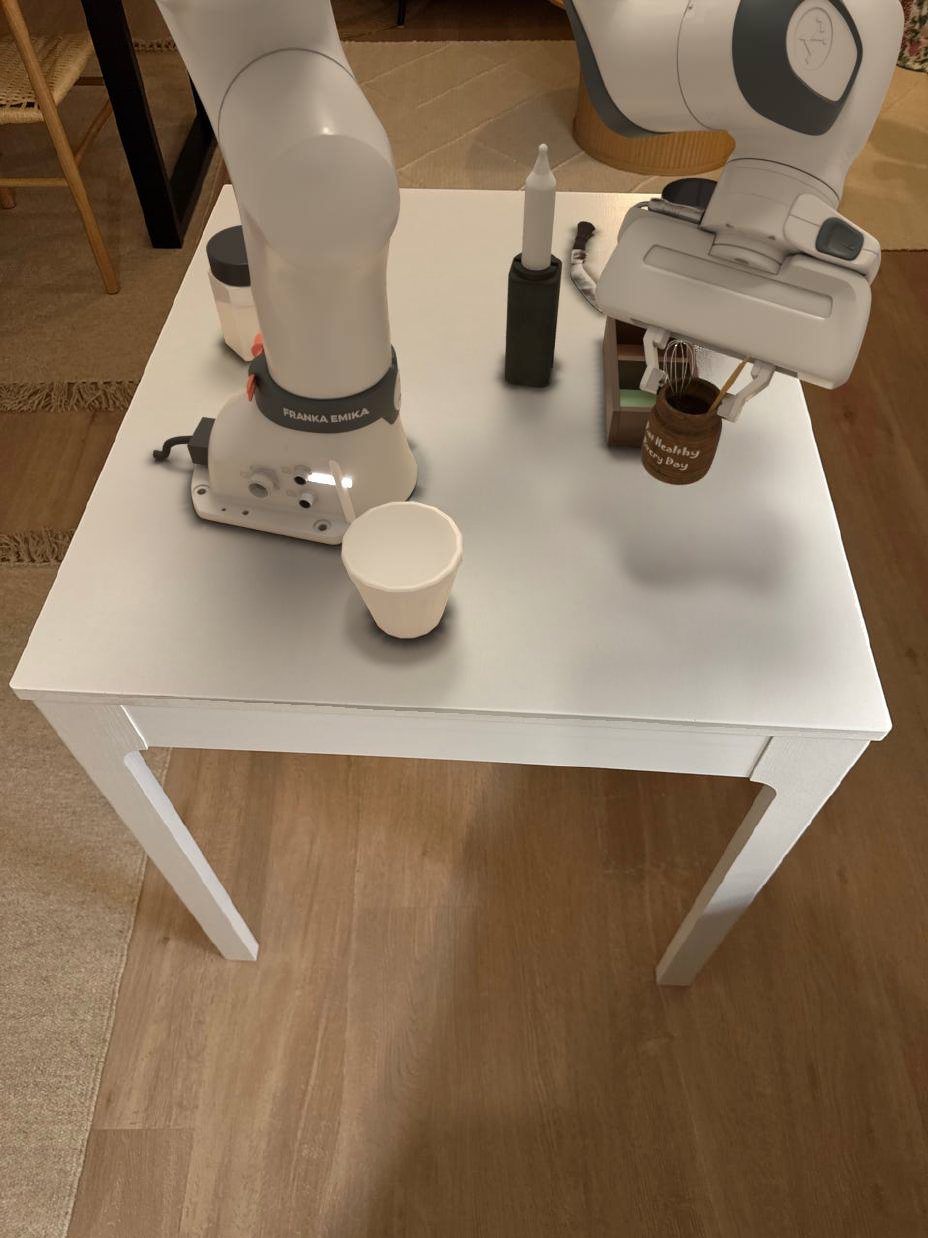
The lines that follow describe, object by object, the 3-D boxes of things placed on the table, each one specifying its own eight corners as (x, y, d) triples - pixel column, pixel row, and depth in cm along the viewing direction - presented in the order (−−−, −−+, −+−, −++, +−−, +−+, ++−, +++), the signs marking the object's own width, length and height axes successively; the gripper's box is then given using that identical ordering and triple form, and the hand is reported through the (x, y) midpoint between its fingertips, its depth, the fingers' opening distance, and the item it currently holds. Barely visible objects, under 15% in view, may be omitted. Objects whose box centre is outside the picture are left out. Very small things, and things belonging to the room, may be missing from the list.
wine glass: (711, 339, 104) (743, 216, 92) (643, 339, 105) (666, 215, 93) (702, 300, 109) (731, 177, 97) (636, 299, 109) (657, 176, 97)
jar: (315, 344, 104) (299, 247, 95) (254, 372, 101) (232, 275, 92) (274, 309, 108) (255, 213, 99) (214, 335, 105) (189, 239, 96)
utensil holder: (663, 429, 77) (691, 307, 68) (727, 461, 75) (766, 340, 65) (624, 465, 75) (648, 344, 65) (690, 500, 72) (725, 380, 63)
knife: (624, 304, 107) (583, 309, 107) (623, 314, 108) (582, 319, 108) (594, 218, 118) (556, 223, 118) (593, 228, 119) (556, 233, 119)
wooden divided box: (607, 445, 94) (612, 410, 90) (602, 343, 104) (607, 308, 100) (695, 449, 93) (704, 414, 90) (681, 346, 104) (689, 311, 100)
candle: (547, 388, 99) (567, 160, 79) (502, 383, 100) (510, 154, 80) (554, 360, 102) (575, 133, 82) (510, 355, 103) (520, 128, 83)
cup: (367, 563, 84) (357, 493, 76) (472, 577, 83) (472, 507, 75) (340, 650, 78) (326, 582, 70) (453, 666, 77) (451, 598, 69)
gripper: (626, 174, 67) (556, 354, 70) (904, 250, 60) (814, 445, 63) (642, 206, 73) (576, 370, 75) (896, 278, 66) (814, 455, 69)
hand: (687, 405), depth 69 cm, fingers closed on utensil holder, 5 cm apart
